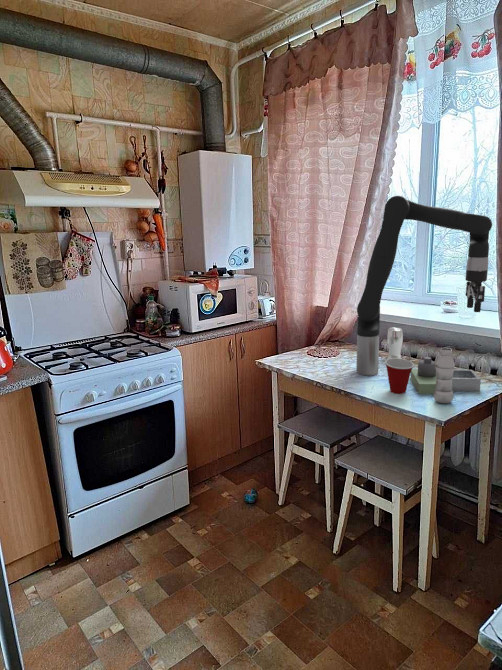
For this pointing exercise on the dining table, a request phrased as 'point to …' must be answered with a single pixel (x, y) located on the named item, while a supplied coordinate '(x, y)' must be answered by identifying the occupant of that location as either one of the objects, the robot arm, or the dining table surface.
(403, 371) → the plastic cup
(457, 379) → the grey open box
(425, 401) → the dining table surface
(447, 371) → the plastic bottle
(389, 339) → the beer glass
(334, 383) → the dining table surface
